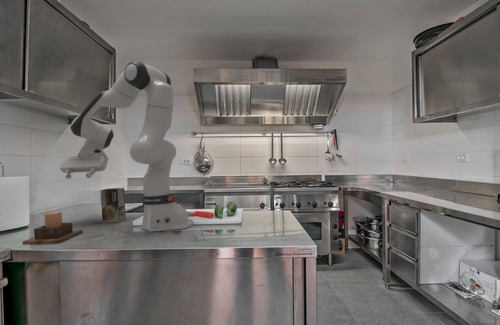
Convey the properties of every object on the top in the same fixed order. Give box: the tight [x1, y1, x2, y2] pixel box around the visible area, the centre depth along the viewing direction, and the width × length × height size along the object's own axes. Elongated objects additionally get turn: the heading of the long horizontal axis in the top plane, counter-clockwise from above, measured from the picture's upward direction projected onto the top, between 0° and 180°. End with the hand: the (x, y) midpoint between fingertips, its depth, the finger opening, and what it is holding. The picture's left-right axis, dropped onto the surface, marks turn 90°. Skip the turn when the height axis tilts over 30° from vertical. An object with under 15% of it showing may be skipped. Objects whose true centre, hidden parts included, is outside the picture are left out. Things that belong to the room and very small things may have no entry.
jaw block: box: [44, 211, 63, 228], centre depth 111 cm, size 4×4×9 cm
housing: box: [22, 222, 84, 245], centre depth 111 cm, size 14×14×5 cm
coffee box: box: [99, 187, 127, 223], centre depth 139 cm, size 9×6×16 cm
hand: (77, 177), depth 128 cm, fingers open, 8 cm apart
